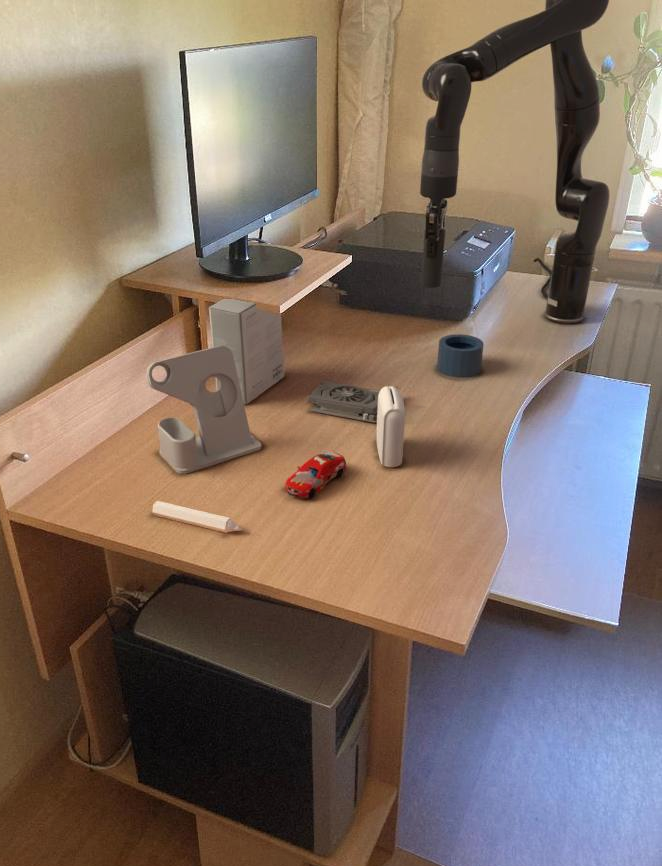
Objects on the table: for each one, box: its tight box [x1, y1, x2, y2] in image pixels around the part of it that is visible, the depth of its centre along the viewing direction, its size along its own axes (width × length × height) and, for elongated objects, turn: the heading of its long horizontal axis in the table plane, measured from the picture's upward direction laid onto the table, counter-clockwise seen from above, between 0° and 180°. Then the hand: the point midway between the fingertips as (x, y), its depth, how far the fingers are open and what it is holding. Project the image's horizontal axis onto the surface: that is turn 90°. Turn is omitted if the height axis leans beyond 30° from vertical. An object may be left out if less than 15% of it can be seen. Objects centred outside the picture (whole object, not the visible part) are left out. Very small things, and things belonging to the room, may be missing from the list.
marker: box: [151, 500, 244, 534], centre depth 124 cm, size 3×2×16 cm
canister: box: [420, 228, 446, 289], centre depth 171 cm, size 4×4×12 cm
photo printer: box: [375, 385, 406, 468], centre depth 139 cm, size 10×4×12 cm, turn 0°
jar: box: [436, 333, 485, 379], centre depth 171 cm, size 9×10×6 cm
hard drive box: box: [208, 290, 285, 406], centre depth 161 cm, size 16×8×20 cm, turn 150°
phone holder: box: [145, 346, 262, 475], centre depth 139 cm, size 17×10×18 cm, turn 122°
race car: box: [284, 451, 347, 499], centre depth 133 cm, size 13×5×4 cm, turn 140°
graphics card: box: [306, 380, 399, 424], centre depth 158 cm, size 17×4×12 cm
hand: (433, 253), depth 171 cm, fingers closed on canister, 4 cm apart
